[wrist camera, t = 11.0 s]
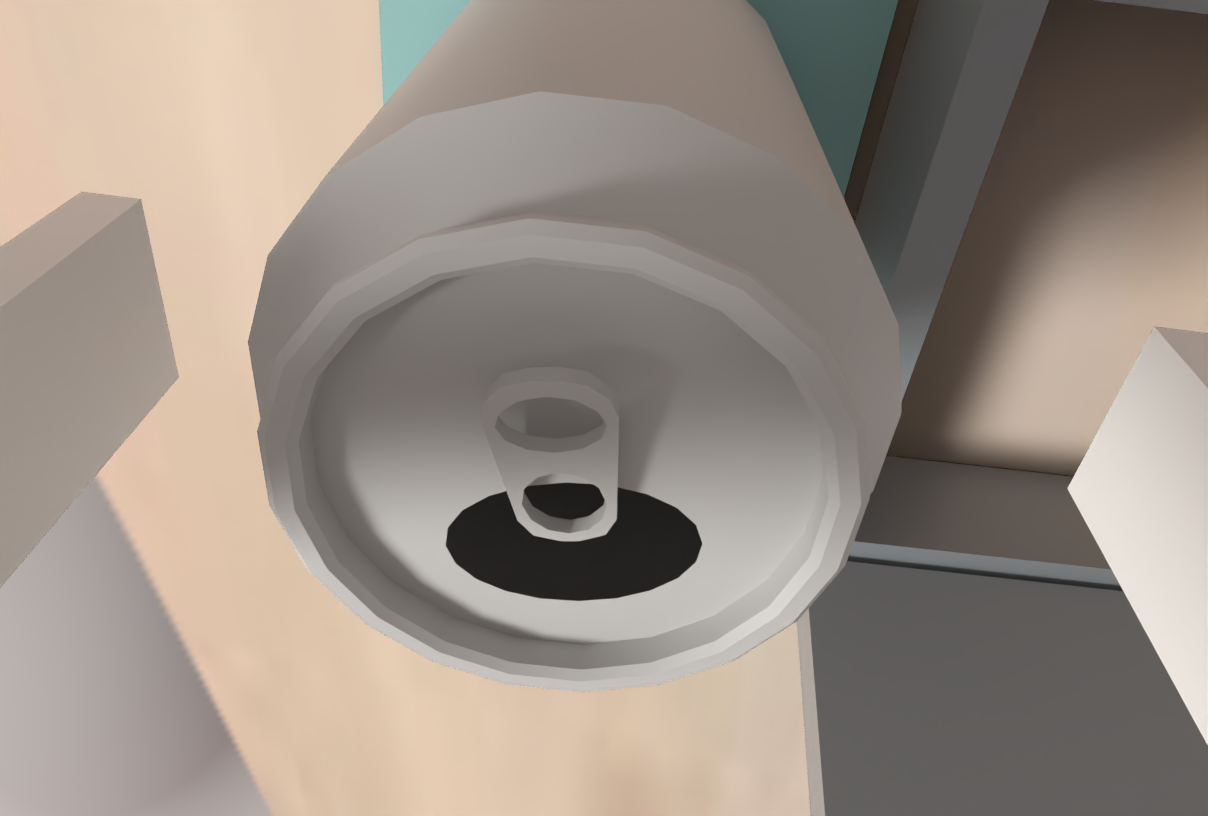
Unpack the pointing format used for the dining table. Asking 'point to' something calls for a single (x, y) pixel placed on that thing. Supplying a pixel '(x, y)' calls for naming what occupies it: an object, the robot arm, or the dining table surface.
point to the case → (977, 536)
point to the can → (578, 350)
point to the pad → (800, 30)
